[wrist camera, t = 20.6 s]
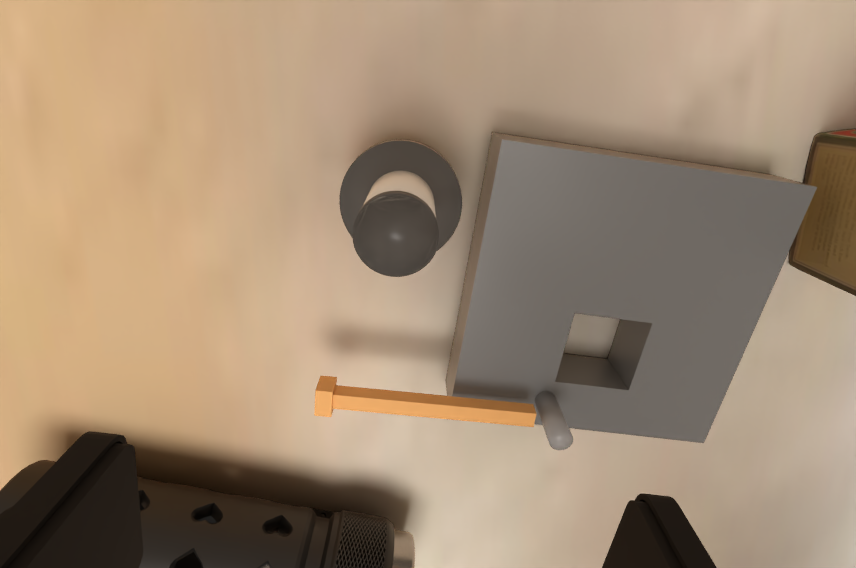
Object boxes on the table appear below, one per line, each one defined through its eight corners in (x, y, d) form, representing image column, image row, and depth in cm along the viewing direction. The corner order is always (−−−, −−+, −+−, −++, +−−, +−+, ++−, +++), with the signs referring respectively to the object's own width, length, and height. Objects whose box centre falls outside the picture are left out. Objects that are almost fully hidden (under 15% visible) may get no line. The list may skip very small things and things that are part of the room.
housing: (770, 174, 31) (878, 203, 24) (676, 407, 38) (737, 486, 31) (492, 132, 30) (515, 148, 23) (445, 380, 37) (451, 456, 29)
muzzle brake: (65, 421, 38) (-55, 535, 28) (418, 488, 41) (417, 612, 31) (67, 511, 41) (-39, 640, 32) (392, 567, 44) (384, 700, 35)
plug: (464, 140, 30) (486, 170, 20) (446, 242, 33) (458, 315, 23) (356, 124, 30) (323, 146, 20) (347, 228, 32) (313, 296, 22)
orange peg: (320, 375, 31) (315, 390, 29) (533, 395, 31) (538, 411, 30) (319, 399, 31) (314, 415, 30) (527, 418, 32) (533, 435, 31)
